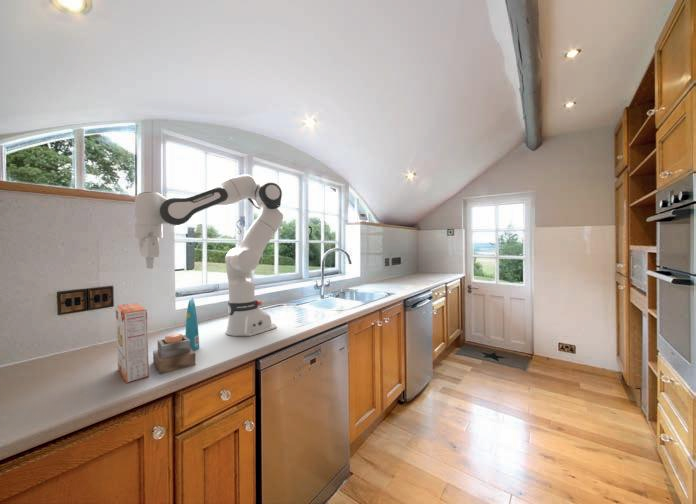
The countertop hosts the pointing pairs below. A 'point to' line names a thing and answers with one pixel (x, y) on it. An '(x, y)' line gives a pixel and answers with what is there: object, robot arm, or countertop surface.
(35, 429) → the countertop surface
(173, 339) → the push button
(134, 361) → the cracker box
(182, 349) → the grey stepped open box
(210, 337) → the countertop surface
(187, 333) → the tube
